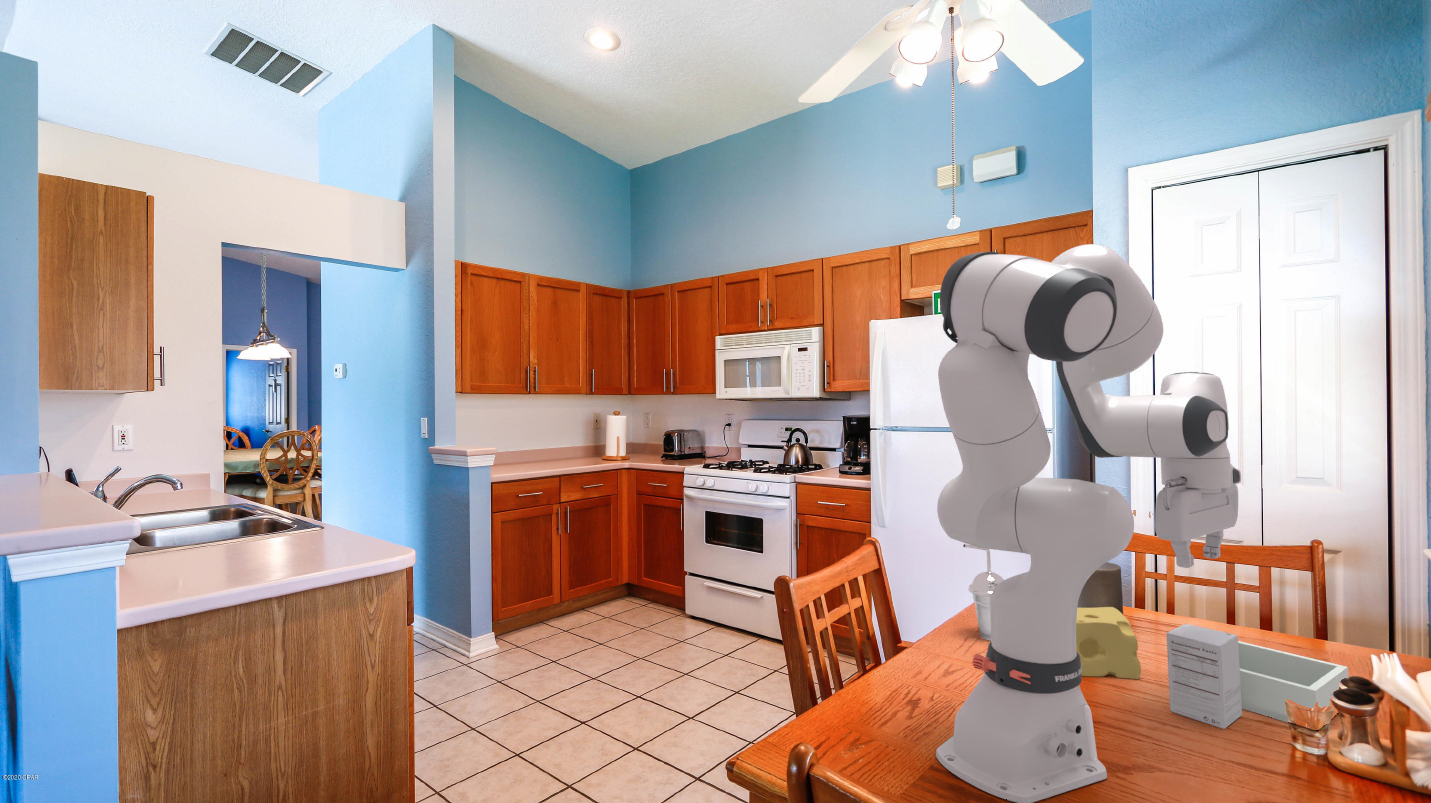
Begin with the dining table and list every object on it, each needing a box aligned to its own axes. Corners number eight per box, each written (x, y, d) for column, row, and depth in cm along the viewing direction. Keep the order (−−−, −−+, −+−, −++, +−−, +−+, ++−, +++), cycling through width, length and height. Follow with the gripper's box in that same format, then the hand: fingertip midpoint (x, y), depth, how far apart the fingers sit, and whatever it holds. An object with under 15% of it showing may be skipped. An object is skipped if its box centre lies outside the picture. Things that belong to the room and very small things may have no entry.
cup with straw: (1013, 646, 129) (1009, 548, 129) (965, 640, 133) (962, 545, 133) (1013, 632, 137) (1009, 540, 137) (968, 627, 141) (965, 538, 141)
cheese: (1141, 680, 112) (1139, 623, 112) (1075, 677, 114) (1073, 621, 114) (1116, 657, 122) (1114, 606, 122) (1056, 655, 124) (1054, 604, 124)
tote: (1317, 731, 93) (1315, 690, 93) (1197, 694, 106) (1196, 658, 106) (1349, 704, 101) (1348, 666, 101) (1234, 673, 114) (1233, 639, 114)
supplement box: (1188, 698, 104) (1185, 622, 105) (1243, 716, 98) (1240, 634, 98) (1168, 711, 100) (1164, 631, 101) (1224, 730, 94) (1220, 645, 94)
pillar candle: (1135, 632, 135) (1132, 561, 136) (1097, 636, 133) (1093, 565, 134) (1099, 618, 145) (1095, 552, 145) (1062, 622, 143) (1059, 556, 143)
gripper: (1188, 481, 92) (1192, 576, 92) (1245, 471, 103) (1249, 556, 102) (1140, 478, 97) (1144, 568, 97) (1200, 468, 108) (1203, 549, 108)
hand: (1199, 562), depth 100 cm, fingers open, 8 cm apart
